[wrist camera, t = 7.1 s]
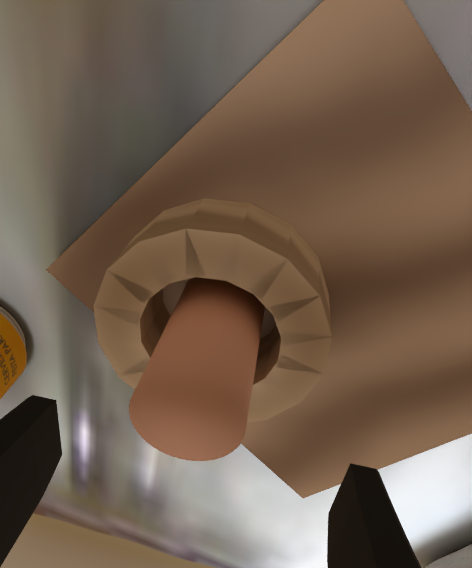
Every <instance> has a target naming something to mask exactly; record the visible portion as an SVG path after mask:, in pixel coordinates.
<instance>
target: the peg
mask: <svg viewBox="0 0 472 568" xmlns="http://www.w3.org/2000/svg"><path fill="white" fill-rule="evenodd" d="M264 310H265V306H264V305H263V304H262V303H261V302H260V301H259V299H258V298H257V297H256V296H255V295H254V294H252V293H250V292H248V291H246V290H244V289H242V288H240V287H238V286H236V285H234V284H232V283H230V282H228V281H225V280H216V279H208V278H200V277H194V278H190V279H189V280H188V282H187V284H186V286H185V288H184V290H183V292H182V294H181V296H180V298H179V300H178V302H177V305H176V307H175V309H174V311H173V313H172V315H171V317H170V319H169V321H168V323H167V325H166V327H165V329H164V331H163V333H162V335H161V337H160V340H159V342H158V344H157V346H156V348H155V350H154V352H153V354H152V356H151V358H150V360H149V362H148V364H147V366H146V368H145V370H144V372H143V374H142V377H141V379H140V381H139V383H138V385H137V387H136V389H135V391H134V393H133V395H132V397H131V400H130V404H129V414H130V418H131V421H132V424H133V426H134V427H135V429H136V431H137V432H138V433H139V435H140V436H141V437H142V438H143V439H144V440H145V441H146V442H148V443H149V444H150V445H152V446H153V447H154V448H156V449H158V450H159V451H161V452H163V453H165V454H168V455H170V456H173V457H177V458H180V459H185V460H192V461H207V460H214V459H218V458H221V457H223V456H226V455H228V454H229V453H231V452H233V451H234V450H235V449H236V448H237V447H238V446H239V445H240V444H241V442H242V440H243V438H244V436H245V431H246V425H247V419H248V413H249V406H250V400H251V393H252V387H253V381H254V374H255V368H256V361H257V355H258V349H259V342H260V336H261V330H262V323H263V317H264Z"/></svg>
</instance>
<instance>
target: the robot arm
mask: <svg viewBox="0 0 472 568" xmlns="http://www.w3.org/2000/svg"><path fill="white" fill-rule="evenodd" d="M61 456H62V449H61V440H60V431H59V422H58V413H57V404H56V400H53V399H48V398H43V397H39V396H34V395H32V396H30V397H28V398H27V399H26V400H25V401H23V402H22V403H21V404H19V405H18V406H17V407H16V408H14V409H13V410H12V411H10V412H9V413H8V414H7V415H5V416H4V417H3V418H2V419H0V567H1V565H2V563H3V562H4V560H5V558H6V557H7V555H8V553H9V552H10V550H11V548H12V547H13V545H14V543H15V542H16V540H17V538H18V537H19V535H20V534H21V532H22V530H23V529H24V527H25V525H26V523H27V522H28V520H29V519H30V517H31V515H32V514H33V512H34V510H35V509H36V507H37V505H38V503H39V502H40V500H41V498H42V497H43V495H44V493H45V491H46V488H47V486H48V484H49V482H50V480H51V478H52V476H53V474H54V471H55V469H56V467H57V465H58V463H59V460H60V458H61ZM327 562H328V568H421V566H420V564H419V562H418V560H417V558H416V556H415V554H414V552H413V549H412V547H411V545H410V543H409V541H408V539H407V537H406V534H405V532H404V530H403V528H402V526H401V523H400V521H399V519H398V517H397V514H396V512H395V510H394V507H393V505H392V503H391V500H390V498H389V496H388V493H387V491H386V488H385V486H384V484H383V481H382V479H381V476H380V474H379V472H378V471H377V469H375V468H370V467H366V466H361V465H356V464H352V463H350V465H349V467H348V469H347V472H346V474H345V476H344V479H343V481H342V483H341V486H340V488H339V490H338V493H337V495H336V497H335V500H334V502H333V504H332V507H331V509H330V511H329V517H328V554H327Z"/></svg>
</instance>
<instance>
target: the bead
mask: <svg viewBox="0 0 472 568" xmlns="http://www.w3.org/2000/svg"><path fill="white" fill-rule="evenodd" d="M194 277H200V278H208V279H216V280H225V281H228V282H230V283H232V284H234V285H236V286H238V287H240V288H242V289H244V290H246V291H248V292H250V293H252V294H254V295H255V296H256V297H257V298H258V299H259V301H260V302H261V303H262V304H263V305H264V306H265V307H266V308H267V309H268V310H269V311H270V312H271V313H272V314H273V316H274V319H275V322H276V326H275V328H274V329H273V330H272V332H271V333H270V334H268V335H267V336H265V337H263V338H262V339H260V342H259V349H258V355H257V361H256V368H255V374H254V381H253V387H252V393H251V400H250V406H249V413H248V419H247V422H254V421H262V420H267V419H269V418H271V417H273V416H275V415H277V414H279V413H281V412H283V411H285V410H287V409H289V408H291V407H293V406H295V405H297V404H299V403H301V401H302V400H303V399H304V398H305V397H306V395H307V394H308V393H309V392H310V391H311V389H312V388H313V387H314V386H315V385H316V383H317V382H318V381H319V380H320V379H321V377H322V376H323V375H324V373H325V368H326V364H327V359H328V354H329V349H330V345H331V340H332V328H331V315H330V303H329V293H328V289H327V286H326V282H325V279H324V275H323V272H322V268H321V264H320V261H319V257H318V256H317V255H316V253H315V252H314V251H313V250H312V249H311V248H310V246H309V245H308V244H307V243H306V242H305V241H304V239H303V238H302V237H301V236H300V235H299V233H298V232H297V231H296V230H295V229H294V228H293V226H292V225H291V224H289V223H287V222H285V221H283V220H281V219H280V218H278V217H276V216H274V215H272V214H270V213H268V212H266V211H264V210H262V209H260V208H258V207H256V206H254V205H253V204H251V203H244V202H234V201H224V200H215V199H205V198H204V199H201V200H197V201H194V202H191V203H187V204H184V205H181V206H177V207H174V208H170V209H167V210H164V211H162V212H161V213H160V214H159V215H158V216H157V217H156V218H155V219H153V220H152V221H151V222H150V223H149V224H148V225H147V226H146V227H144V228H143V229H142V230H141V231H140V232H139V233H138V234H137V235H135V236H134V238H133V239H132V240H131V241H130V242H129V244H128V245H127V246H126V247H125V248H124V250H123V251H122V252H121V253H120V254H119V256H118V257H117V258H116V259H115V260H114V261H113V263H112V264H111V265H110V266H109V267H108V269H107V270H106V273H105V275H104V278H103V281H102V284H101V286H100V289H99V292H98V295H97V297H96V300H95V303H94V305H93V306H94V314H95V321H96V329H97V336H98V343H99V345H100V346H101V348H102V350H103V351H104V353H105V355H106V356H107V358H108V360H109V361H110V363H111V365H112V367H113V368H114V370H115V372H116V373H117V375H118V376H119V377H120V378H121V379H122V380H123V381H125V382H126V383H127V384H128V385H129V386H130V387H132V388H133V389H134V390H135V389H136V387H137V385H138V383H139V381H140V379H141V377H142V374H143V372H144V370H145V368H146V366H147V364H148V362H149V360H150V358H151V356H152V354H153V352H154V350H155V348H156V346H157V344H158V342H159V340H160V337H161V335H162V333H163V331H164V329H165V327H166V325H167V323H168V321H169V319H170V317H171V316H170V314H169V312H168V310H167V308H166V306H165V304H164V302H163V288H164V287H165V286H166V285H168V284H169V283H173V282H178V281H182V280H186V279H190V278H194Z"/></svg>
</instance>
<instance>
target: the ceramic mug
mask: <svg viewBox="0 0 472 568" xmlns="http://www.w3.org/2000/svg"><path fill="white" fill-rule="evenodd" d="M425 568H472V544H470V545H468V546H466V547H464V548H462V549H460V550H458V551H456V552H454V553H451V554H449V555H446V556H444V557H442V558H440V559H437V560H435V561H434V562H432V563H430V564H429V565H427V566H426V567H425Z"/></svg>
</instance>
